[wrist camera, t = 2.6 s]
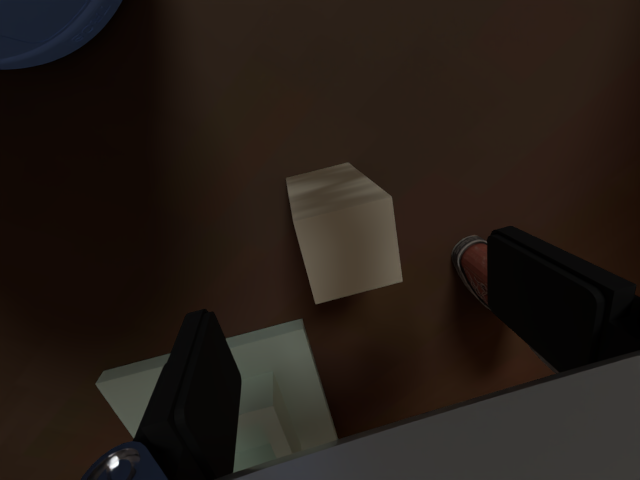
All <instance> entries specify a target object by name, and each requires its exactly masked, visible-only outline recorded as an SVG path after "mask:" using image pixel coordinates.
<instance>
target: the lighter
mask: <svg viewBox="0 0 640 480" xmlns="http://www.w3.org/2000/svg"><path fill="white" fill-rule="evenodd" d="M451 257H452V261H453V263H454V266H455V268H456V270H457V272H458V275H459V276H460V278H461V279H462V281H463V282H464V284H465V286H466V287H467V289H468V290H469V291H470V292H471V293H472V294H473V295H474V296H475V297H476V298H477V299H478V300H479V301H480V302H481V303H482V304H483V305H484V306H485V307H487V308H488V309H489V310H490V308H489V306H488V301H487V241H485V240H484V239H482V238H480V237H478V236H469V237H466V238H464V239H462V240H461V241H460V242H459V243H458V244H457V245H456V246H455V247H454V249H453V251H452V255H451ZM529 347H530V349H531V350H532V351H533V352H534V353H535V354H536V355H537V356H538V357H539V358H540V359H541V360H542V361H543V362H544V363H545V364H546V365H547V366H548V367H549V368H550V369H551V370H552V371H553V372H555V373H556V374H557V373H559V372H558V371H557V370H556V369H555V368H554V367H553V366H552V365H551V364H549V363H548V362H547V361H546V360H545V359H544V358H543V357H542V356H541V355H539V354H538V353H537V352H536V351H535V350H534V349H533V348H532V347H531V346H529Z"/></svg>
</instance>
